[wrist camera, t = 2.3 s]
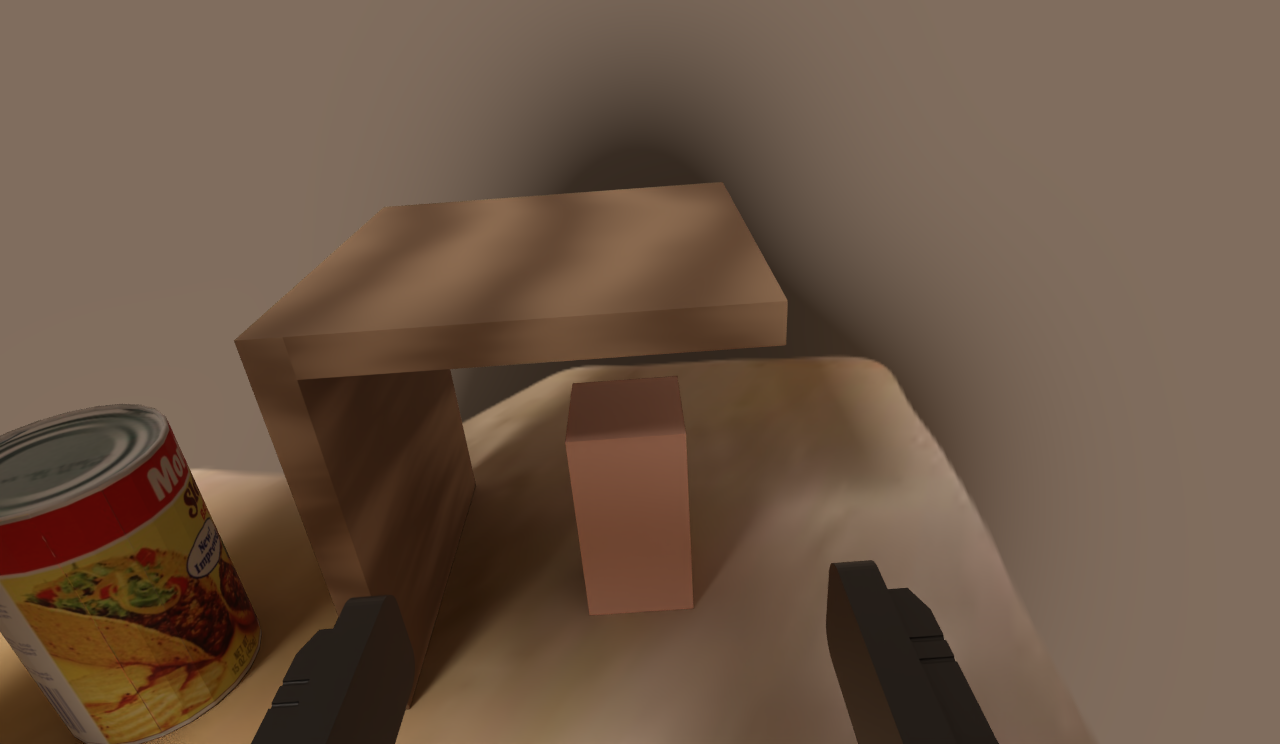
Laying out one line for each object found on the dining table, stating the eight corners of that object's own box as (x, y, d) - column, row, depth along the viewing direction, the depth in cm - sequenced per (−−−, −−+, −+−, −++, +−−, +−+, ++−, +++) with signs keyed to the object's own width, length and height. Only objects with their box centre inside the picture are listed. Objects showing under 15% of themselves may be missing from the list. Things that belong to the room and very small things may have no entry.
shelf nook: (374, 711, 30) (233, 340, 22) (451, 486, 43) (384, 206, 35) (774, 684, 30) (787, 300, 21) (725, 467, 43) (722, 182, 35)
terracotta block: (589, 615, 34) (565, 442, 29) (593, 543, 38) (572, 383, 33) (693, 608, 34) (686, 433, 29) (685, 537, 38) (677, 375, 33)
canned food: (296, 637, 34) (207, 426, 28) (127, 781, 28) (-29, 551, 22) (201, 584, 37) (105, 389, 32) (33, 702, 31) (-123, 487, 26)
